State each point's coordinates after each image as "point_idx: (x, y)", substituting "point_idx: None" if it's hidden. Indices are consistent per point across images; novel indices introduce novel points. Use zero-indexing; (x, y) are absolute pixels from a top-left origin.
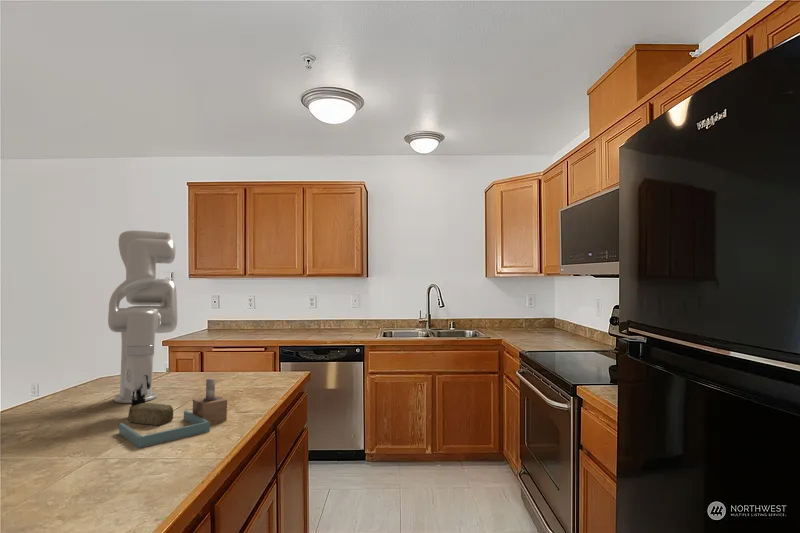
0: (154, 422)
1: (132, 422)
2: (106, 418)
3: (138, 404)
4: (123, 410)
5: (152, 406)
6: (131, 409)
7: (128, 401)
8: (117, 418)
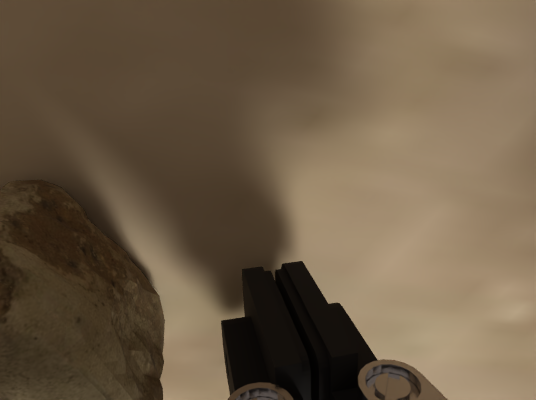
0: None
1: None
2: (380, 25)
3: (54, 393)
4: (531, 219)
5: None
6: None
7: None
8: (299, 119)
